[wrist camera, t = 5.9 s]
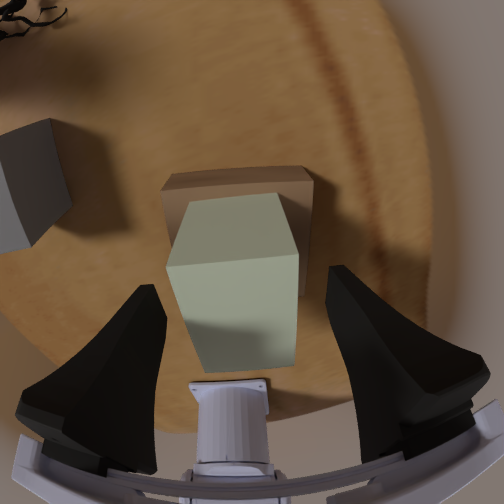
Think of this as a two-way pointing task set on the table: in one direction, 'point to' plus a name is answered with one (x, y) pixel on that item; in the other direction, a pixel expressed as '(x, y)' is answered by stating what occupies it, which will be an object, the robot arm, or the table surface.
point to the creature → (20, 17)
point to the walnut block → (240, 184)
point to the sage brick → (237, 282)
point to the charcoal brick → (30, 186)
